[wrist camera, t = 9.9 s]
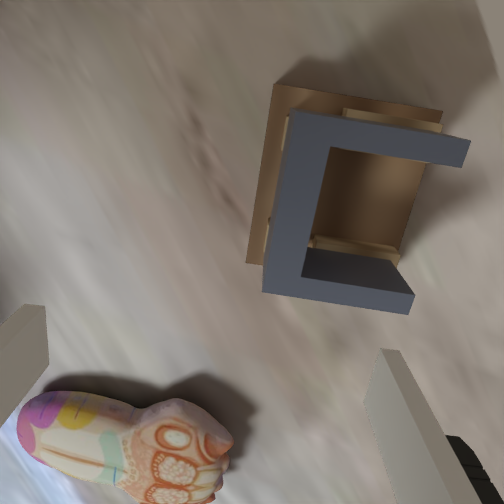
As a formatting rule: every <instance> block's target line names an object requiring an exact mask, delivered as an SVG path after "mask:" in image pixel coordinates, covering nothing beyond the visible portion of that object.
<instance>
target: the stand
mask: <svg viewBox="0 0 504 504" xmlns="http://www.w3.org/2000/svg"><path fill="white" fill-rule="evenodd" d="M291 107H292V108H298V109H304V110H310V111H316V112H322V113H328V114H334V115H340V116H346V117H352V118H358V119H364V120H370V121H376V122H382V123H388V124H394V125H400V126H406V127H412V128H418V129H424V130H430V131H434V132H438V133H441V130H442V127H443V124H439V122H440V119H441V116H442V113H443V111H439V110H433V109H427V108H421V107H415V106H409V105H402V104H396V103H390V102H384V101H378V100H372V99H366V98H360V97H353V96H347V95H341V94H335V93H329V92H323V91H317V90H310V89H304V88H298V87H292V86H286V85H280V84H274V85H273V92H272V98H271V104H270V111H269V117H268V123H267V130H266V136H265V142H264V149H263V155H262V162H261V168H260V174H259V181H258V187H257V193H256V200H255V206H254V212H253V219H252V225H251V231H250V238H249V244H248V250H247V258H246V263H250V264H257V265H263V257H264V252H265V246H266V241H267V235H268V230H269V224H270V218H271V213H272V207H273V202H274V196H275V191H276V185H277V180H278V174H279V169H280V163H281V158H282V152H283V147H284V141H285V136H286V130H287V125H288V119H289V114H290V108H291ZM426 163H429V162H422V161H416V160H410V159H404V158H398V157H392V156H386V155H380V154H374V153H368V152H362V151H356V150H350V149H344V148H338V147H332V146H330V150H329V154H328V158H327V163H326V167H325V172H324V176H323V180H322V185H321V189H320V194H319V198H318V202H317V207H316V211H315V216H314V220H313V225H312V229H311V233H310V238H309V242H308V247H311V248H318V249H324V250H330V251H336V252H343V253H349V254H355V255H362V256H368V257H374V258H380V259H387V260H391V262H392V263H393V265H394V266H395V267H396V269H397V265H398V262H399V259H400V256H401V255H400V254H399V253H398V250H399V247H400V243H401V240H402V237H403V234H404V231H405V228H406V225H407V222H408V219H409V215H410V212H411V209H412V206H413V203H414V200H415V197H416V194H417V191H418V187H419V184H420V181H421V178H422V175H423V172H424V169H425V166H426Z"/></svg>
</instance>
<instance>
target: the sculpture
mask: <svg viewBox="0 0 504 504" xmlns="http://www.w3.org/2000/svg"><path fill="white" fill-rule="evenodd" d="M17 435H18V439H19V442H20V444H21V445H22V447H23V448H24V449H25V450H26V451H27V452H28V453H29V454H30V455H31V456H32V457H33V458H34V459H36V460H37V461H39V462H41V463H43V464H45V465H47V466H50V467H52V468H55V469H57V470H59V471H61V472H63V473H65V474H67V475H69V476H72V477H74V478H78V479H81V480H86V481H91V482H95V483H101V484H107V485H111V486H115V487H118V488H121V489H123V490H124V491H125V492H127V493H128V494H129V495H130V496H131V497H132V498H133V499H134V500H136V501H137V502H138V503H140V504H206V503H210V502H212V501H213V500H215V494H214V492H217V491H218V490H220V489H221V488H222V486H223V476H222V475H223V474H224V472H225V471H226V470H227V469H228V467H229V463H230V458H229V455H228V454H227V453H226V451H228V450H229V449H230V448H231V447H232V446H233V444H234V440H233V437H232V435H231V434H230V433H229V432H228V431H227V430H226V428H225V427H224V426H222V425H221V424H220V423H219V422H218V421H217V420H216V419H215V418H213V417H212V416H211V415H210V414H209V413H208V412H207V411H205V410H204V409H202V408H201V407H199V406H197V405H195V404H194V403H191V402H188V401H185V400H183V399H180V398H172V399H169V400H166V401H163V402H159V403H156V404H153V405H151V406H149V407H148V408H144V409H138V408H135V407H133V406H131V405H130V404H127V403H125V402H122V401H119V400H115V399H111V398H107V397H104V396H100V395H96V394H92V393H86V392H75V391H51V392H46V393H43V394H40V395H38V396H36V397H34V398H32V399H30V400H29V401H28V402H27V403H26V404H25V405H24V406H23V407H22V409H21V411H20V414H19V416H18V421H17Z"/></svg>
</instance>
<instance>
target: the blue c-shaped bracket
mask: <svg viewBox="0 0 504 504" xmlns="http://www.w3.org/2000/svg"><path fill="white" fill-rule="evenodd" d="M470 143H471V141H470V140H466V139H462V138H458V137H454V136H450V135H446V134H442V133H438V132H434V131H430V130H424V129H418V128H412V127H406V126H400V125H394V124H388V123H382V122H376V121H370V120H364V119H358V118H352V117H346V116H340V115H334V114H328V113H322V112H316V111H310V110H304V109H298V108H292V107H291V108H290V114H289V119H288V125H287V130H286V136H285V141H284V147H283V152H282V158H281V163H280V169H279V174H278V180H277V185H276V191H275V196H274V202H273V207H272V213H271V218H270V224H269V230H268V235H267V241H266V246H265V252H264V257H263V281H262V292H265V293H271V294H277V295H284V296H290V297H297V298H303V299H309V300H316V301H322V302H328V303H335V304H341V305H348V306H354V307H360V308H367V309H373V310H379V311H386V312H392V313H398V314H405V315H408V314H409V311H410V309H411V306H412V303H413V300H414V298H415V294H414V293H413V291H412V290H411V288H410V287H409V286H408V284H407V283H406V281H405V280H404V279H403V277H402V276H401V274H400V273H399V272H398V270H397V269H396V267H395V266H394V265H393V263H392V262H391V260H387V259H380V258H374V257H368V256H362V255H355V254H349V253H343V252H336V251H330V250H324V249H318V248H311V247H308V242H309V238H310V233H311V229H312V225H313V220H314V216H315V211H316V207H317V202H318V198H319V194H320V189H321V185H322V180H323V176H324V172H325V167H326V163H327V158H328V154H329V150H330V146H332V147H338V148H344V149H350V150H356V151H362V152H368V153H374V154H380V155H386V156H392V157H398V158H404V159H410V160H416V161H422V162H429V163H435V164H441V165H447V166H453V167H459V168H462V165H463V162H464V159H465V157H466V154H467V151H468V148H469V146H470Z"/></svg>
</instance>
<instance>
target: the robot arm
mask: <svg viewBox="0 0 504 504" xmlns="http://www.w3.org/2000/svg"><path fill="white" fill-rule="evenodd" d="M48 365H49V353H48V340H47V327H46V314H45V306H39V305H31V304H24V305H23V306H22V307H21V308H19V309H18V310H17V311H16V312H15V313H14V314H13V315H12V316H11V317H9V318H8V319H7V320H6V321H5V322H4V323H3V324H2V325H1V326H0V428H1V426H2V425H3V424H4V423H5V421H6V420H7V419H8V417H9V416H10V415H11V413H12V412H13V411H14V410H15V408H16V407H17V406H18V404H19V403H20V402H21V401H22V399H23V398H24V397H25V395H26V394H27V393H28V391H29V390H30V389H31V388H32V386H33V385H34V384H35V382H36V381H37V380H38V378H39V377H40V376H41V375H42V373H43V372H44V371H45V369H46V368H47V367H48ZM364 405H365V408H366V411H367V414H368V417H369V420H370V423H371V426H372V429H373V432H374V435H375V438H376V441H377V444H378V447H379V450H380V453H381V456H382V459H383V462H384V465H385V468H386V471H387V474H388V477H389V480H390V483H391V486H392V489H393V492H394V495H395V498H396V501H397V504H504V502H503V500H502V498H501V497H500V495H499V493H498V491H497V490H496V488H495V486H494V485H493V483H491V482H490V478H489V476H488V475H487V473H486V471H485V470H483V466H482V465H481V463H480V461H479V460H478V458H477V456H476V455H475V453H474V451H473V450H472V449H471V448H470V447H469V446H468V445H467V444H466V443H465V442H464V441H463V440H462V439H461V438H460V437H457V436H449V435H445V434H444V432H443V431H442V429H441V427H440V425H439V423H438V421H437V419H436V418H435V416H434V414H433V412H432V410H431V408H430V407H429V405H428V403H427V401H426V399H425V397H424V395H423V394H422V392H421V390H420V388H419V386H418V384H417V382H416V381H415V379H414V377H413V375H412V373H411V371H410V370H409V368H408V366H407V364H406V362H405V360H404V358H403V357H402V355H401V353H400V351H398V350H390V349H382V348H380V351H379V354H378V357H377V360H376V364H375V367H374V370H373V373H372V376H371V379H370V383H369V386H368V389H367V392H366V395H365V398H364Z"/></svg>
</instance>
